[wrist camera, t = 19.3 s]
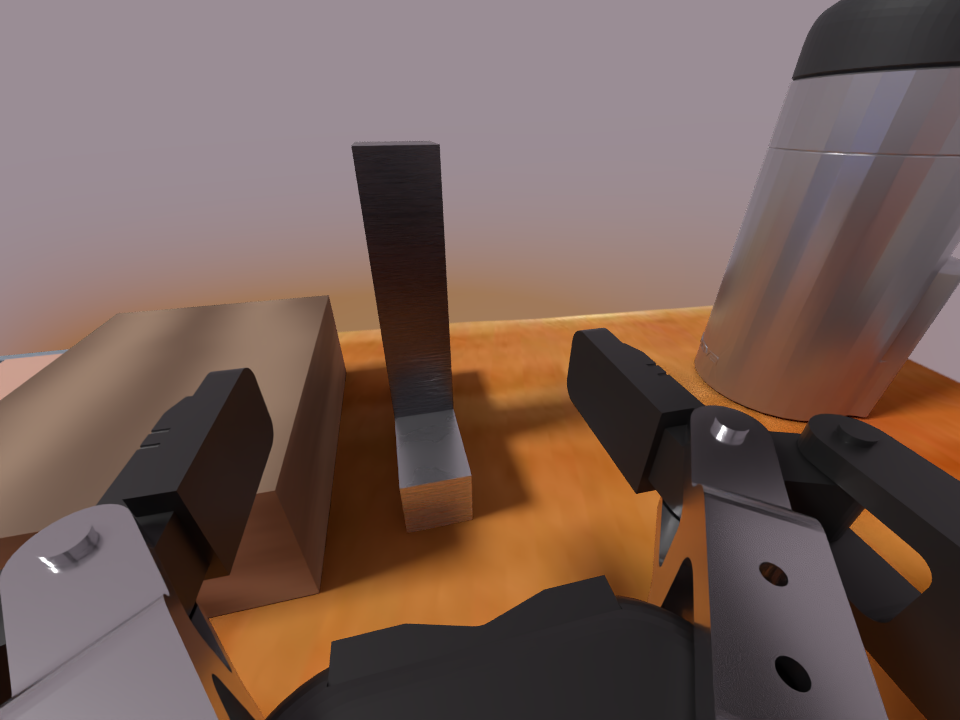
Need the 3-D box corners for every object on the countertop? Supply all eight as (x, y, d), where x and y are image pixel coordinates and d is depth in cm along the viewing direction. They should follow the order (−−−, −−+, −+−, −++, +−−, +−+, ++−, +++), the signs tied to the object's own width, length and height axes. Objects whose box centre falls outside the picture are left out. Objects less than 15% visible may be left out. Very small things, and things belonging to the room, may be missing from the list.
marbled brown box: (346, 371, 28) (328, 295, 25) (319, 593, 15) (275, 490, 12) (162, 394, 26) (117, 313, 23) (-62, 678, 13) (-243, 579, 10)
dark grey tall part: (437, 377, 28) (419, 137, 20) (472, 519, 18) (463, 153, 10) (395, 382, 27) (359, 138, 19) (407, 533, 17) (341, 155, 9)
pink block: (72, 352, 21) (6, 359, 20) (9, 400, 17) (-74, 411, 17) (113, 414, 23) (55, 422, 23) (65, 468, 20) (-6, 479, 19)
